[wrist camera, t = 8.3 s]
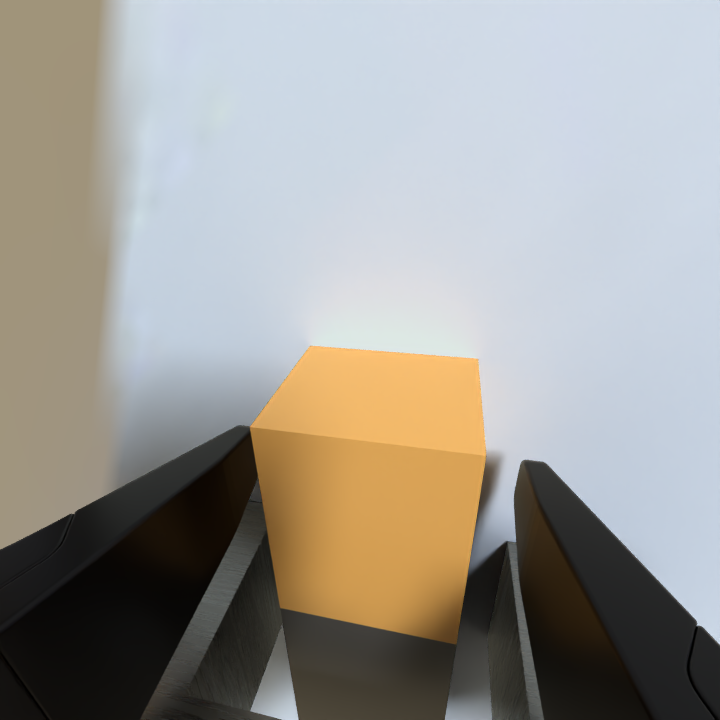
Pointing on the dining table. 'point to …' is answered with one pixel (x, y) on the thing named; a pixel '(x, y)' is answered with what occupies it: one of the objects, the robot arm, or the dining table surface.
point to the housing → (263, 622)
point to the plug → (371, 525)
